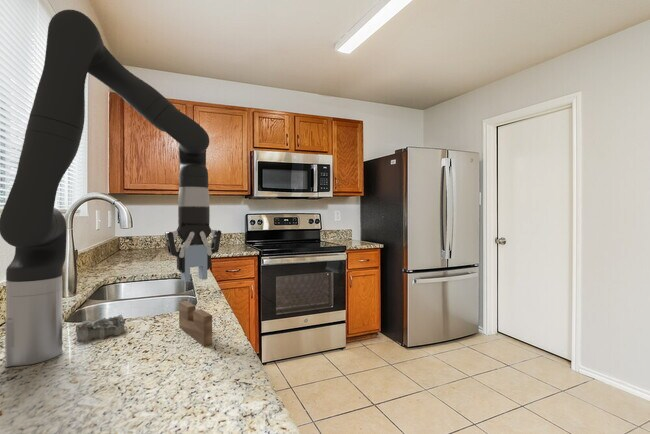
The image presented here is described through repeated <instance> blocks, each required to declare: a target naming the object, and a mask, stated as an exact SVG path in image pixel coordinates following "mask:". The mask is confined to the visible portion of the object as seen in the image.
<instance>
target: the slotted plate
mask: <svg viewBox="0 0 650 434" xmlns="http://www.w3.org/2000/svg"><path fill="white" fill-rule="evenodd" d="M178 304H179V305H178V306H179V307H178V308H179V309H178V320H179V321H178V325H179V326H178V327H179V329H180V330H182V331H183V332H184V333H186V334H187V335H188V336H190V337H191V338H192V339H194V340H195V342H197V343H199V345H201V346H203V348H205V347H208V346H211V345H213V314H210V313H209V312H207V311H205V310H204V309H202V308H200V309H196V305H195V304H194V303H191V302H190V301H187V300H184V301H183V300H182V301H179V302H178Z"/></svg>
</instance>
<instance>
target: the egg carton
mask: <svg viewBox="0 0 650 434" xmlns="http://www.w3.org/2000/svg"><path fill="white" fill-rule="evenodd" d="M125 325H126V322H125V319H124V317H123V314H119V315H116V316H113V317H111V316H110V317H108V318H106V317H103V318H101V319H94V320H83V321H81V322H80V323H78V324H76V325H75V334H76V336H75V337H76V341H78V342H79V341H82V342H84V341H85V342H86V341H89V340H90V339H93V338H95V339H96V338H99V339H101V338H104V337H105V338H106V337H107V336H109V335H113V336H114V335H115V336H116V335H120V334H121V333H125Z"/></svg>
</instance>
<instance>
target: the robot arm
mask: <svg viewBox="0 0 650 434" xmlns="http://www.w3.org/2000/svg"><path fill="white" fill-rule="evenodd" d="M47 26H48V27H47V28H48V29H47V37H46V47H45V55H44V64H43V68H42V73H41V76H40V79H39V82H38V85H37V89H36V92H35V96H34V100H33V104H32V107H31V110H30V114H29V117H28V120H27V121H28V122H27V125H26V129H25V134H24V139H23V143H22V147H21V152H20V156H19V160H18V164H17V170H16V175H15V177H14V181H13V184H12V186H11V189H10V190H9V191H10V192H9V193H8V196H7V199H6V201H5V204H4V205H3V209H2V212H1V213H0V236H1V238H2V239H3V240H4V241H5V243H7V244H8V245H10V246H13V247H14V248H15V249H14V250H15V252H14V257H13V258H12V261H10V263H9V265H8V266H7V268H6V270H5V280H6V281H5V285H6V286H5V289H6V290H5V292H6V293H5V298H6V299H5V303H6V304H5V305H6V306H5V310H6V311H5V316H6V317H5V320H4V322H5V325H4V328H5V329H4V332H5V333H4V334H5V336H4V337H5V338H4V340H5V344H4V345H5V347H4V348H5V349H4V350H5V353H4V354H5V355H4V357H5V360H4V361H5V366H4V367H5V368H8V367H14V366H15V367H18V366H19V367H21V366H28V365H33V364H38V363H41V362H42V363H43V362H45V361H49V360H51V359H53V358H56V357H58V356H59V355H61V354H62V353H63V268H64V265H65V263H66V255H67V234H68V233H67V222H66V218H65V216H64V215H63V214H62V212H61V211H60V210H59V209H57V208H56V207H55V203H56V197H57V193H58V188H59V185H60V183H61V180H62V179H63V177H64V176H65V173H67V171H68V169H69V168H70V166H71V164H72V163H73V161H74V159H75V157H76V156H77V153H78V151H79V147H80V144H81V140H82V135H83V131H84V125H85V120H86V119H85V117H86V115H85V114H86V113H85V112H86V111H85V109H86V102H85V101H86V100H85V99H86V98H85V96H86V95H85V93H86V91H85V89H86V80H87V76H88V75H87V74H89V75H91V76H92V77H94V78H95V79H97V80H98V81H100V82H101V83H102V84H103V85H105V86H106V87H108V88H109V89H111V90H112V91H113V92H114V93H115V94H117V95H118V96H119V97H120V98H122V99H123V100H124V101H125V102H126V104H128V105H129V106H130V107H132V108H133V109H134V110H135V112H137V113H138V114H140V115H141V116H142V117H143V118H144V119H146V121H147V122H149V123H150V124H151V125H153V126H154V127H155V128H156V129H157V130H158V131H161V132H163V133H166V134H168V135H169V137H171V138H172V139H173V140H175V142H177V143H178V145H177V147H178V160H179V170H178V171H179V173H178V178H179V179H178V182H179V183H178V185H179V186H178V187H179V189H178V194H177V195H178V196H177V198H178V199H177V207H178V208H177V209H178V210H177V212H178V214H177V217H178V221H177V222H178V223H177V224H178V226H177V229H176V230H174V231H166V232H165V233H164V237H165V241H166V249H167V252H168V255H170V256H173V257H175V258H176V269H177V271H178V272H179V273H180V274H181V273H184V272H185V258H184V255H185V249H188V247H189V245H195V244H198V245H202V244H203V245H204V246H205V248H207V271H209V270H210V268H211V266H212V255H213V254H217V253H218V252H219V250H220V244H221V238H222V230H219V229H212V228H211V226H210V222H211V221H210V220H211V219H210V218H211V217H210V215H211V214H210V212H211V211H210V209H211V208H210V192H209V170H208V168H207V149H208V147H209V145H210V136H209V134H208V132H207V131H206V130H205V129H204V127H202V125H200V124H199V123H197V122H196V121H195V120H194V119H192V118H191V117H189V116H188V115H187V114H185V113H183V112H182V111H180V110H179V109H178V108H177V107H176V106H175V105H174V104H173V103H171V101H169V100H168V99H167V98H166V97H165V96H164V95H162V93H160V91H158V90H157V89H155V87H153V86H151V85H150V84H149V83H147V82H145V80H142V79H141V78H140V77H138V76H136V75H135V74H134V73H132V72H130V70H128V69H127V68H126V67H125V66H124V65H123V64H121V62H119V61H118V60H117V59H116V58H115V56H114V55H113V54H112V53H111V51H109V49H108V48H107V47H106V45H105V44H104V42H103V39H102V35H101V33H100V31H99V29H98V27H97V26H96V24H95V23H94V21H93V20H92V19H91V18H90V17H89V16H87V15H86V14H84V13H83V12H82V11H79V10H76V9H63V10H60V11H58V12H57V13H55V14H54V15H53V16H52V17H51V19H50V20H49V23H48V25H47ZM177 236H178V237H179V239H180V243H179V245H178V248H176V242H175V240H176V239H177ZM209 236H210V237H211V239H212V240H211V245H210V244H209V243H210V242H209V241H208V238H209Z"/></svg>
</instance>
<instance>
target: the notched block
mask: <svg viewBox="0 0 650 434" xmlns="http://www.w3.org/2000/svg"><path fill="white" fill-rule="evenodd" d="M184 258H185V272H184V273H181V272H180V274H181V276H180V279H181V280H180V281H182V282H185V283H187V282H191V268H198V272H197V273H198V274H197V275H198V279H200V280H208V270H207V248H205V246H204V245H203V244H202V245H198V244H195V245H189V247H188V249H185V255H184Z"/></svg>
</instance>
